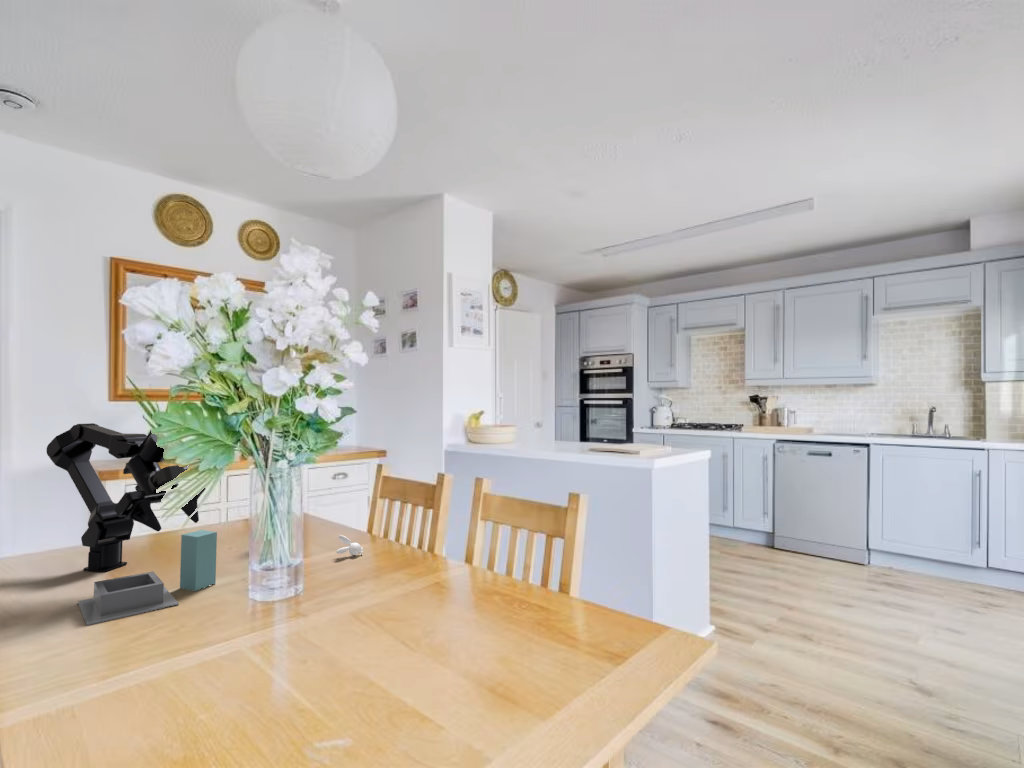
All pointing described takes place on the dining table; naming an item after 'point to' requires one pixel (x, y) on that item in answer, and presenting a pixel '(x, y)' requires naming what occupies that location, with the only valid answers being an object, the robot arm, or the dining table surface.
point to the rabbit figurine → (353, 547)
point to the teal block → (198, 559)
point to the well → (125, 598)
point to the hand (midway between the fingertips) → (179, 525)
